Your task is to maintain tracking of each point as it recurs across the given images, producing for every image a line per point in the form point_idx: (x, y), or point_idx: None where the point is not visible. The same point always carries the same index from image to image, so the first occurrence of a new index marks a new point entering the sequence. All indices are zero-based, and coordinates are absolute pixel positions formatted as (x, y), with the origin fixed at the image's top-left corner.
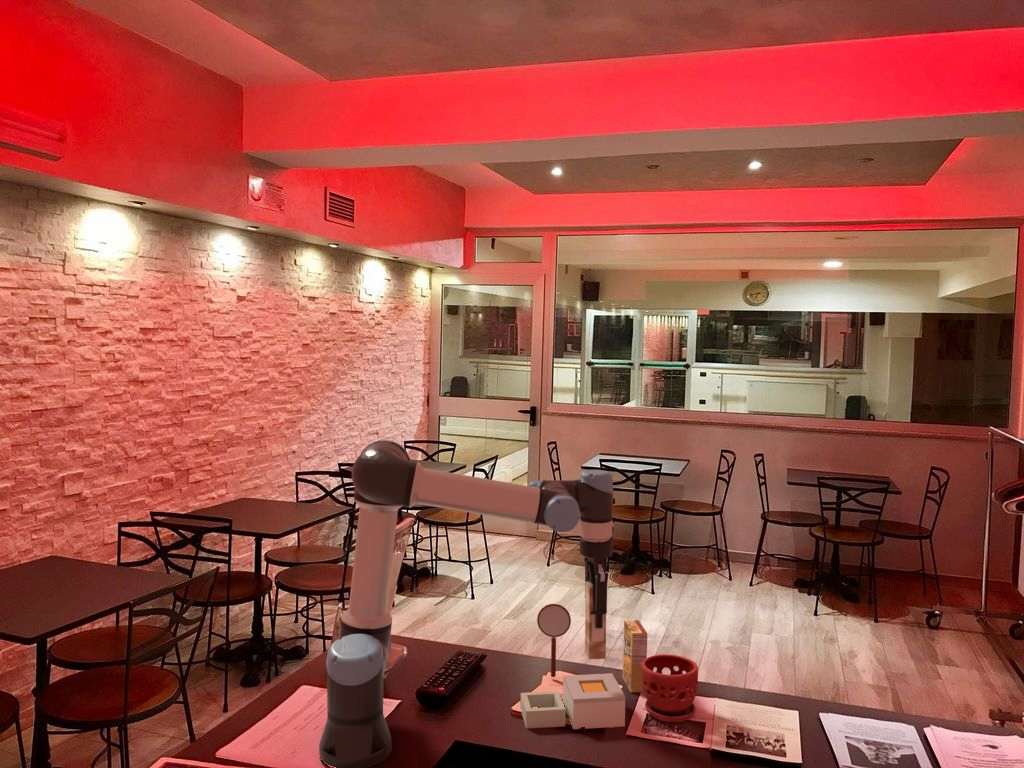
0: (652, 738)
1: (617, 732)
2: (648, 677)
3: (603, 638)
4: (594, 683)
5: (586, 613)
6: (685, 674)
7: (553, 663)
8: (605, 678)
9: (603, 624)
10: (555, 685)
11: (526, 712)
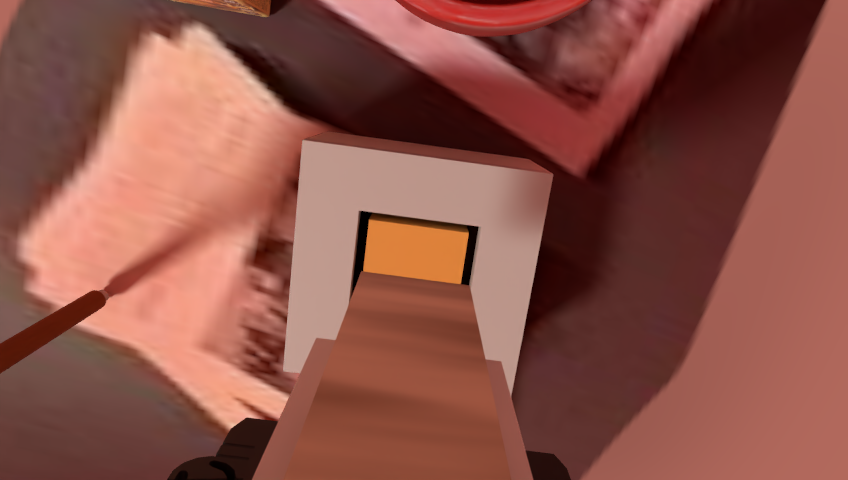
0: (641, 91)
1: (560, 202)
2: (541, 25)
3: (504, 373)
4: (372, 254)
5: None
6: None
7: (70, 323)
8: (351, 194)
9: (520, 441)
10: (155, 300)
11: None
